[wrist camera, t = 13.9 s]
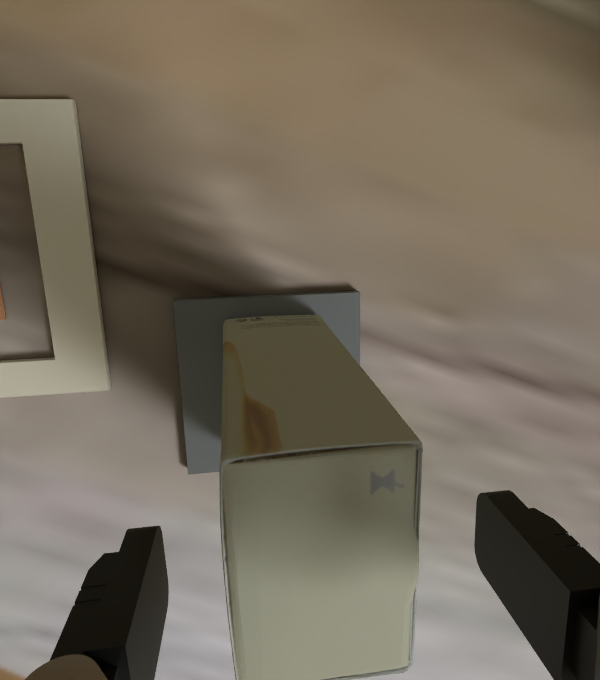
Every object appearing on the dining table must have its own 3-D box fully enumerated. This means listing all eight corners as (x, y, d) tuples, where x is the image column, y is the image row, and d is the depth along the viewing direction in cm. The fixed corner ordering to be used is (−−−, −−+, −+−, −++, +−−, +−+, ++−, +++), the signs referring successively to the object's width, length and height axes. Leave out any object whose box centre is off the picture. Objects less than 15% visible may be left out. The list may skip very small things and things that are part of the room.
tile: (357, 290, 22) (359, 292, 22) (356, 454, 24) (359, 458, 24) (174, 299, 21) (172, 301, 21) (188, 468, 23) (188, 474, 23)
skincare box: (221, 317, 21) (211, 443, 10) (321, 312, 22) (429, 425, 10) (229, 455, 23) (231, 707, 11) (323, 447, 24) (418, 679, 12)
